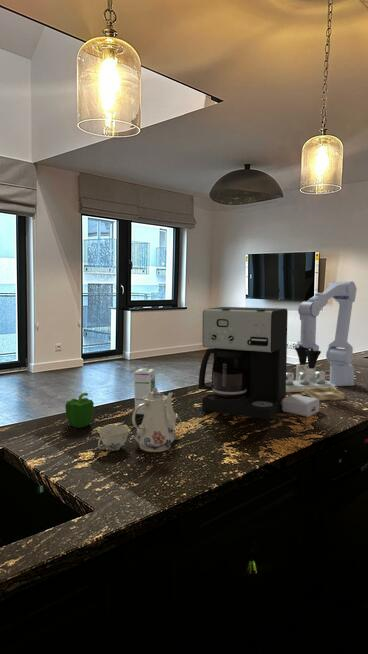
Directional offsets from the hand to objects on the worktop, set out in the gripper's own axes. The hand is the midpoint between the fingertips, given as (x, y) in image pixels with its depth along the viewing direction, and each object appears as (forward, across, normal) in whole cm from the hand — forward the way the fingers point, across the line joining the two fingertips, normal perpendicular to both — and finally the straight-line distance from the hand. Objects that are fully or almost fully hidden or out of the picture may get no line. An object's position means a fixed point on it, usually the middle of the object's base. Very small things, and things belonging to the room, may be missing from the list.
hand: (307, 366), depth 178 cm
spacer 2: (+9, -8, +3) cm, 12 cm away
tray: (+11, +6, +5) cm, 13 cm away
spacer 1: (+9, -8, -4) cm, 12 cm away
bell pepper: (+12, +25, -86) cm, 91 cm away
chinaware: (+12, +44, -68) cm, 82 cm away
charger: (+11, +22, -16) cm, 29 cm away
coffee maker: (+11, +14, -32) cm, 37 cm away
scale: (+11, -9, +3) cm, 14 cm away
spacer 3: (+8, -8, +10) cm, 15 cm away
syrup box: (+11, +14, -65) cm, 68 cm away
